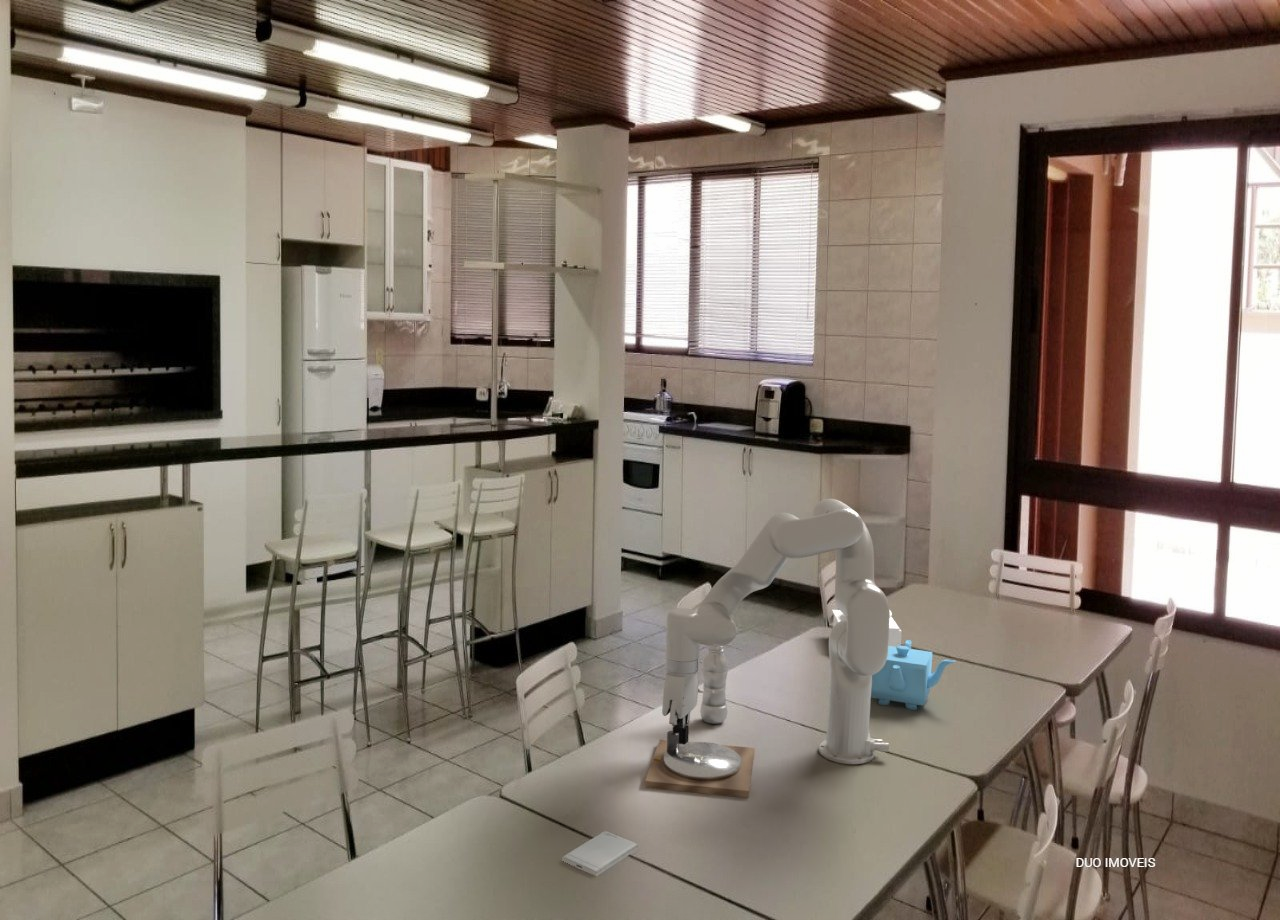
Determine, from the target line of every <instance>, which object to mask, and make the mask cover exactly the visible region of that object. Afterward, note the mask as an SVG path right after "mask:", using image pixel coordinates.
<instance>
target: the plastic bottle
mask: <svg viewBox="0 0 1280 920" xmlns="http://www.w3.org/2000/svg"><path fill="white" fill-rule="evenodd" d="M707 646H708V647H707V652H708V653H707V654H706V655H705V656H704V658H702V662H701V671H702V679H703V684H702V685H703V690H702V702H701V705H700V711H699V712H700V717H701V719H702V721H704V722H706V723H708V724H716V725H717V724H722V723H724V722H725V721H726V719H727V716H728V706H727V699H726V689H727V687H726V686H727V677H728V671H729V662H728V660H727V657H726V655H725V654H724V651H725V649H724V647H725V646H709V645H707Z"/></svg>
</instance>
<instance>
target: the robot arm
mask: <svg viewBox="0 0 1280 920" xmlns="http://www.w3.org/2000/svg"><path fill="white" fill-rule="evenodd" d="M873 543H874V542H873V540H872V537H871V533H870V531H869V528H868V527H867V525H866V524H865V522H864V521H863V519H862V517H861V516H860V514H859V513H858V512H857V511H856V510H854V509H853V508H851V507H850V506H848V504H846V503H844V502H843V501H840V500H838V499H835V498H824V499H822V500H820V501H819V502H817V503H816V505H815V506H814V508H813V511H812V516H810V517H805V518H799V517H797V516H796V515H794V514H791V513H788V512H778V513H775V514H773V515H772V517H771V516H770V518H769V519H768V520H767V521H766V523H765V525H764V526H763V527H762V529H761V530H760V532H759V533H758V534H757V536H756V537H755V538H754V540H753V542H752V543H751V544H750V546H748V549H747V550H746V551H745V552H744V553H743V556H742V557H741V558H740V560H738V562H737V563H736V564H735V565H734V566H733V567H731V568H730V569H729V570H728V571H727V572H725V574H724V575H723V576H721V577H720V578H719V579H718V580H717V581H716V582H715V584H713V586H712V588H711V589H710V590H709V592H708V593H707V594H706V596H705V598H704V599H703V600H702V601H701V603H700V605H699V607H698V609H697V610H695V609H692V608H686V607H685V608H684V607H683V608H681V607H680V608H675V609H671V610H670V611H668V613H667V615H666V628H665V629H666V630H665V631H666V634H665V636H666V637H665V672H666V673H665V678H664V683H663V684H664V685H663V692H662V693H663V696H662V709H661V710H662V712H661V713H662V716H665V717H666V716H667V715H669V719H668V724H670V725H672V731H678V732H679V744H684V745H685V744H686V743H687V742H689V733H690V732H689V731H690V730H689V729H690V719H691V712H692V711H693V710H694V709H695V708H696V707H697V705H698V698H699V697H698V696H699V685H698V684H699V683H698V674H699V673H700V646H701V645H704V646H705V645H706V646H708V645H709V646H724V647H725V646H728V645H730V644H731V643H733V642H734V641H735V639H736V636H737V633H738V628H737V624H736V622H735V620H734V618H732V616H731V615H732V614H733V613H734V611H735V610H736V609H737V608H738V605H739V604H741V602H742V601H743V600H744V599H745V598H746V597H747V596H749V595H750V594H752V593H753V592H756V591H759V590H763V589H765V588H767V587H769V586H770V585H771V584H772V582H773V580H775V578H776V576H777V575H778V574H779V573H780V571H781V569H782V568H783V567H784V566H785V564H786V562H788V560H789V559H803V558H808V557H812V556H818V555H823V554H825V553H830V552H834V553H835V554H834V555H835V556H834V557H835V578H834V579H835V580H834V581H835V583H834V584H835V585H834V603H835V605H836V607H837V609H838V610H840V611H841V612H842V613H843V614H844V615H845V616H846V617H847V619H844V620H841V621H840V622H838V623H837V624H836V625H835V626H834V627H833V626H832V629H831V630H830V633H829V637H828V656H829V658H828V659H829V686H828V700H827V718H826V722H827V723H826V735H825V736H826V738H825V739H824V740H822V741H821V742H820V743H819V746H818V752H819V753H820V755H821V756H822V757H824V758H825V759H826V760H828V761H831V762H835V763H838V764H844V765H861V764H866V763H869V762H870V761H872V760H873V759H874V758H875V751H879V752H889V749H890V747H889V746H890V745H889V743H888V742H884V741H883V739H881V738H880V739H879V738H877V739H876V738H873V737H871V734H870V719H871V699H872V697H871V690H872V675H874V674H876V673H878V672H879V671H880V670H881V669H882V668H883V666H884V665H885V663H886V660H887V656H888V647H889V622H890V610H889V609H890V605H889V601H888V598H887V596H886V594H885V592H884V591H883V590H882V589H881V588H880V587H878V586H877V585H876V583H875V582H876V581H875V553H874V551H875V549H874V544H873Z"/></svg>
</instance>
